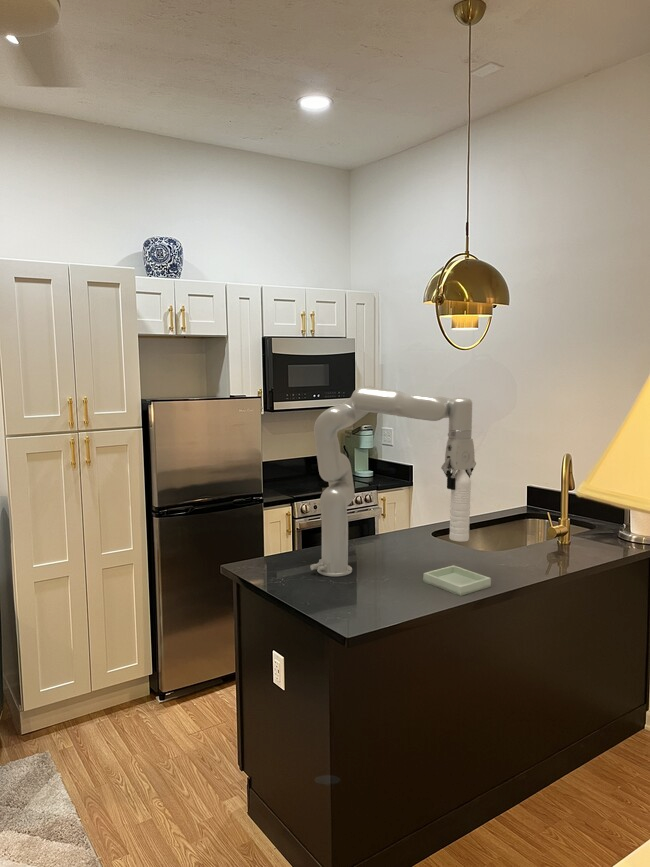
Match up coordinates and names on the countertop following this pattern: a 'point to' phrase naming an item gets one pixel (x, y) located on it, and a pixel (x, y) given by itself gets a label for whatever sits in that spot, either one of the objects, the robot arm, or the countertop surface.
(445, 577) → the tray
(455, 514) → the water bottle
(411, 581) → the countertop surface
